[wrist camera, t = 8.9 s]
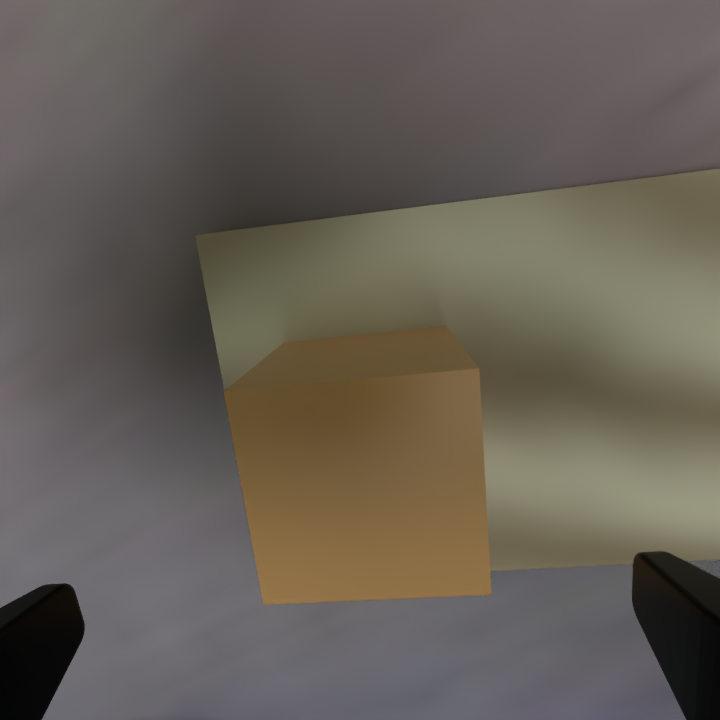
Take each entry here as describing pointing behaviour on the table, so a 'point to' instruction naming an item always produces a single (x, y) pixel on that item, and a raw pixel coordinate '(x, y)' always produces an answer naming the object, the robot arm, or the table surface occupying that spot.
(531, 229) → the birch board
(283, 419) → the tan wooden cube
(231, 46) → the table surface
